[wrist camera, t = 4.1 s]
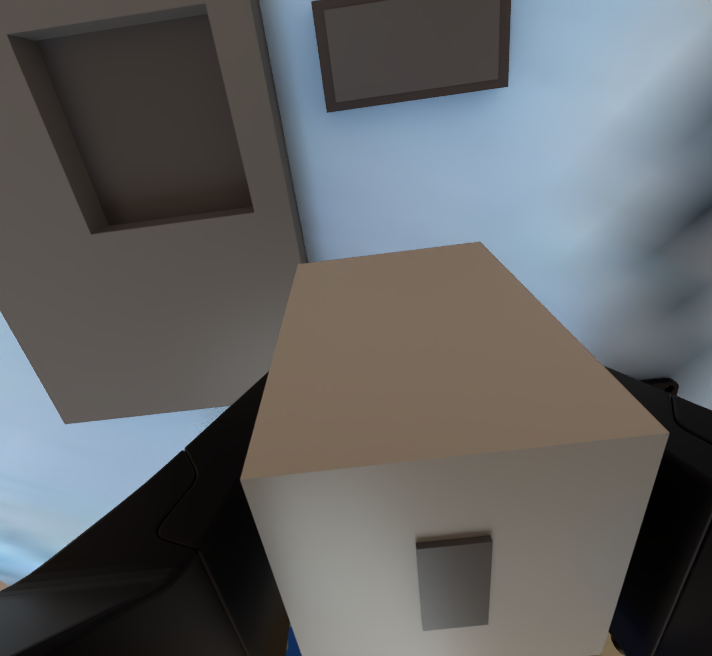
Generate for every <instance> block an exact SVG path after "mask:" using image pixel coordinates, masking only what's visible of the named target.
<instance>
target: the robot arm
mask: <svg viewBox="0 0 712 656" xmlns="http://www.w3.org/2000/svg"><path fill="white" fill-rule="evenodd" d="M604 367H605V366H604ZM605 368H606V369H607V370H608V371H609V372H610V373H611V374H612V375H613V376H614V377H615V378H616V379H617V380H618V381H619V382H620V383H621V384H622V385H623V386H624V387H625V388H626V389H627V390H628V391H629V392H630V393H631V394H632V395H633V396H634V397H635V398H636V399H637V400H638V401H639V402H640V403H641V404H642V405H643V406H644V407H645V408H646V409H647V410H648V412H649V413H650V414H651V415H652V416H653V417H654V418H655V419H656V420H657V421H658V422H659V423H660V424H661V425H662V426H663V427H664V428H665V429H666V430H667V431H668V432H669V437H668V440H667V443H666V446H665V449H664V453H663V456H662V459H661V462H660V466H659V469H658V472H657V475H656V479H655V482H654V485H653V488H652V492H651V495H650V498H649V501H648V504H647V508H646V511H645V514H644V517H643V521H642V524H641V527H640V530H639V534H638V537H637V540H636V543H635V547H634V550H633V553H632V556H631V560H630V563H629V566H628V569H627V572H626V576H625V579H624V582H623V585H622V589H621V592H620V595H619V598H618V602H617V605H616V608H615V611H614V615H613V618H612V621H611V624H610V627H609V633H610V634H611V640H612V642H613V644H614V646H615V647H616V649H617V650H618V651H619V652H620V653H621V654H623V655H625V656H712V410H709V409H707V408H704V407H702V406H699V405H697V404H694V403H692V402H690V401H687V400H685V399H682V398H680V397H678V396H677V392H678V388H679V385H678V384H677V383H676V382H675V381H674V380H673V379H671V378H659V379H650V380H641V381H639V380H636V379H634V378H632V377H629V376H627V375H624V374H622V373H619V372H617V371H615V370H612V369H610V368H607V367H605ZM268 374H269V371H268V372H267V373H266V374H265V375H264V376H263V377H262V378H261V379H259V380H258V381H257V382H256V383H255V384H254V385H253V386H252V387H251V388H250V389H249V390H247V391H246V392H245V393H244V394H243V395H242V396H241V397H240V398H239V399H238V400H237V401H235V402H234V403H233V404H232V405H231V406H230V407H229V408H228V409H227V410H226V411H225V412H223V413H222V414H221V415H220V416H219V417H218V418H217V419H216V420H215V421H214V422H212V423H211V424H210V425H209V426H208V427H207V428H206V429H205V430H204V431H203V432H202V433H200V434H199V435H198V436H197V437H196V438H195V439H194V440H193V441H192V442H191V443H190V444H188V445H187V446H186V447H185V449H184V450H185V451H181V452H180V453H178V454H177V455H176V456H175V457H174V458H173V459H172V460H171V461H170V462H169V463H168V464H166V465H165V466H164V467H163V468H162V469H161V470H160V471H158V472H157V473H156V474H155V475H154V476H153V477H152V478H150V479H149V480H148V481H147V482H146V483H145V484H144V485H142V486H141V487H140V488H139V489H137V490H136V491H135V492H134V493H133V494H131V495H130V496H129V497H128V498H126V499H125V500H124V501H123V502H121V503H120V504H119V505H118V506H116V507H115V508H114V509H113V510H111V511H110V512H109V513H108V514H106V515H105V516H104V517H103V518H101V519H100V520H99V521H97V522H96V523H95V524H94V525H92V526H91V527H90V528H89V529H87V530H86V531H85V532H83V533H82V534H81V535H80V536H78V537H77V538H76V539H75V540H73V541H72V542H71V543H69V544H68V545H67V546H66V547H64V548H63V549H62V550H61V551H59V552H58V553H57V554H55V555H54V556H53V557H52V558H50V559H49V560H48V561H47V562H45V563H44V564H43V565H41V566H40V567H39V568H37V569H36V570H35V571H33V572H32V573H31V574H29V575H28V576H26V577H24V578H23V579H21V580H20V581H18V582H16V583H15V584H13V585H11V586H9V587H7V588H5V589H3V590H1V591H0V656H286V649H287V642H288V634H289V627H290V620H289V617H288V615H287V612H286V609H285V606H284V603H283V600H282V598H281V595H280V592H279V589H278V586H277V583H276V581H275V578H274V575H273V572H272V569H271V566H270V563H269V561H268V558H267V555H266V552H265V549H264V546H263V544H262V541H261V538H260V535H259V532H258V529H257V527H256V524H255V521H254V518H253V515H252V512H251V510H250V507H249V504H248V501H247V498H246V495H245V492H244V490H243V487H242V484H241V481H240V478H241V474H242V471H243V467H244V463H245V459H246V456H247V452H248V448H249V444H250V441H251V437H252V433H253V430H254V426H255V422H256V418H257V415H258V411H259V407H260V403H261V400H262V396H263V392H264V389H265V385H266V381H267V377H268ZM667 386H668V387H667ZM666 387H667V388H666Z"/></svg>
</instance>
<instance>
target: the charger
mask: <svg viewBox="0 0 712 656" xmlns="http://www.w3.org/2000/svg"><path fill="white" fill-rule="evenodd" d="M668 437H669V432H668V431H667V430H666V429H665V428H664V427H663V426H662V425H661V424H660V423H659V422H658V421H657V420H656V419H655V418H654V417H653V416H652V415H651V414H650V413H649V412H648V410H647V409H646V408H645V407H644V406H643V405H642V404H641V403H640V402H639V401H638V400H637V399H636V398H635V397H634V396H633V395H632V394H631V393H630V392H629V391H628V390H627V389H626V388H625V387H624V386H623V385H622V384H621V383H620V382H619V381H618V380H617V379H616V378H615V377H614V376H613V375H612V374H611V373H610V372H609V371H608V370H607V369H606V368H605V367H604V366H603V365H602V364H601V363H600V362H599V361H598V360H597V359H596V358H595V357H594V356H593V355H592V354H591V353H590V352H589V351H588V350H587V349H586V348H585V347H584V346H583V345H582V344H581V343H580V342H579V341H578V340H577V339H576V338H575V337H574V336H573V335H572V334H571V333H570V332H569V331H568V330H567V329H566V328H565V327H564V326H563V325H562V324H561V323H560V322H559V321H558V320H557V319H556V318H555V317H554V316H553V315H552V314H551V313H550V312H549V311H548V310H547V309H546V308H545V307H544V306H543V305H542V304H541V303H540V302H539V301H538V300H537V299H536V298H535V297H534V295H533V294H532V293H531V292H530V291H529V290H528V289H527V288H526V287H525V286H524V285H523V284H522V283H521V282H520V281H519V280H518V279H517V278H516V277H515V276H514V275H513V274H512V273H511V272H510V271H509V270H508V269H507V268H506V267H505V266H504V265H503V264H502V263H501V262H500V261H499V260H498V259H497V258H496V257H495V256H494V255H493V254H492V253H491V252H490V251H489V250H488V249H487V248H486V247H485V246H484V245H483V244H482V243H481V242H473V243H465V244H457V245H449V246H441V247H433V248H425V249H417V250H409V251H401V252H393V253H384V254H376V255H368V256H360V257H352V258H344V259H336V260H328V261H320V262H312V263H304V264H298V266H297V269H296V273H295V277H294V280H293V284H292V288H291V292H290V295H289V299H288V303H287V307H286V310H285V314H284V318H283V321H282V325H281V329H280V333H279V336H278V340H277V344H276V348H275V351H274V355H273V359H272V362H271V366H270V370H269V374H268V377H267V381H266V385H265V389H264V392H263V396H262V400H261V403H260V407H259V411H258V415H257V418H256V422H255V426H254V430H253V433H252V437H251V441H250V444H249V448H248V452H247V456H246V459H245V463H244V467H243V471H242V474H241V478H240V481H241V484H242V487H243V490H244V492H245V495H246V498H247V501H248V504H249V507H250V510H251V512H252V515H253V518H254V521H255V524H256V527H257V529H258V532H259V535H260V538H261V541H262V544H263V546H264V549H265V552H266V555H267V558H268V561H269V563H270V566H271V569H272V572H273V575H274V578H275V581H276V583H277V586H278V589H279V592H280V595H281V598H282V600H283V603H284V606H285V609H286V612H287V615H288V617H289V620H290V623H291V626H292V629H293V632H294V635H295V637H296V640H297V643H298V646H299V649H300V652H301V654H302V656H590V655H600V654H601V653H602V650H603V647H604V644H605V640H606V637H607V634H608V631H609V627H610V624H611V621H612V618H613V615H614V611H615V608H616V605H617V602H618V598H619V595H620V592H621V589H622V585H623V582H624V579H625V576H626V572H627V569H628V566H629V563H630V560H631V556H632V553H633V550H634V547H635V543H636V540H637V537H638V534H639V530H640V527H641V524H642V521H643V517H644V514H645V511H646V508H647V504H648V501H649V498H650V495H651V492H652V488H653V485H654V482H655V479H656V475H657V472H658V469H659V466H660V462H661V459H662V456H663V453H664V449H665V446H666V443H667V440H668Z"/></svg>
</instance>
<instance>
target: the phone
mask: <svg viewBox="0 0 712 656" xmlns="http://www.w3.org/2000/svg"><path fill="white" fill-rule="evenodd" d="M311 3H312V10H313V17H314V25H315V32H316V39H317V46H318V53H319V60H320V67H321V74H322V81H323V88H324V95H325V102H326V109H327V113H328V112H335V111H342V110H348V109H355V108H362V107H369V106H376V105H383V104H390V103H397V102H404V101H411V100H418V99H425V98H432V97H439V96H446V95H453V94H460V93H467V92H474V91H481V90H488V89H495V88H502V87H508V72H509V43H510V14H511V0H319V1H313V2H311Z"/></svg>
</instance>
